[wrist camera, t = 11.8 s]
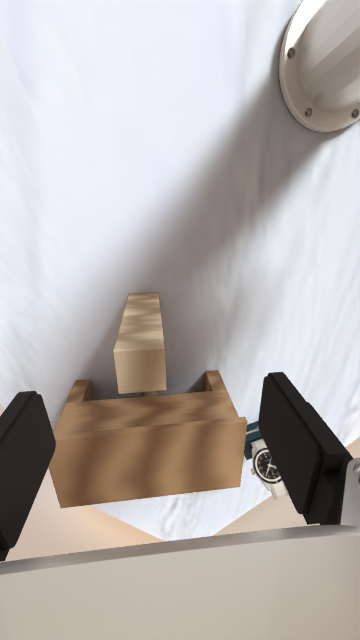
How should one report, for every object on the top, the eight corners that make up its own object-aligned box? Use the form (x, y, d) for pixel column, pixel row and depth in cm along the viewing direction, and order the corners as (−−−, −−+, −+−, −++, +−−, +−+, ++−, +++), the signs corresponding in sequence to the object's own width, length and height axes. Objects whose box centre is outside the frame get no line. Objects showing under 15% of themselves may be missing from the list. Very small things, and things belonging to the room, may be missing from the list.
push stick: (191, 291, 35) (220, 345, 21) (190, 417, 44) (211, 520, 29) (94, 295, 34) (52, 355, 19) (113, 424, 43) (94, 535, 28)
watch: (261, 411, 45) (293, 467, 35) (270, 441, 48) (302, 501, 38) (231, 422, 45) (255, 481, 35) (242, 451, 48) (267, 513, 38)
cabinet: (221, 366, 41) (247, 421, 30) (217, 424, 45) (239, 490, 34) (71, 377, 38) (41, 441, 27) (84, 436, 43) (61, 511, 32)
